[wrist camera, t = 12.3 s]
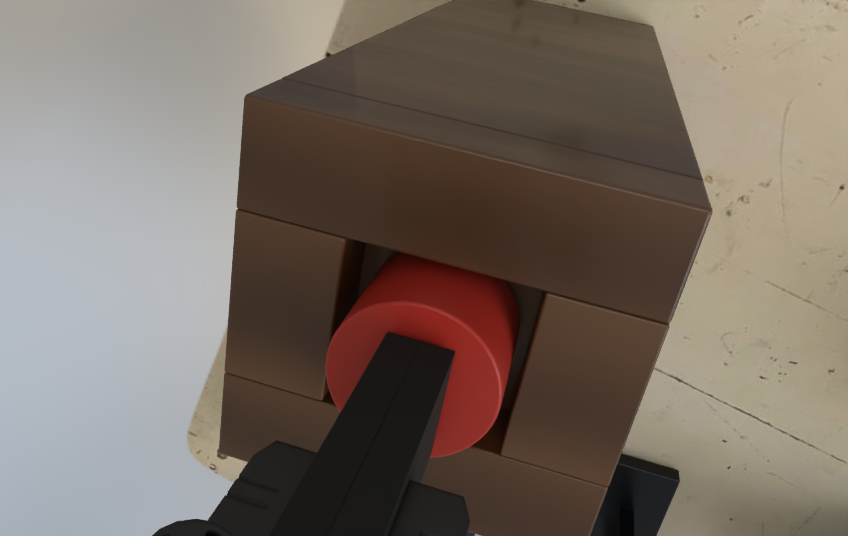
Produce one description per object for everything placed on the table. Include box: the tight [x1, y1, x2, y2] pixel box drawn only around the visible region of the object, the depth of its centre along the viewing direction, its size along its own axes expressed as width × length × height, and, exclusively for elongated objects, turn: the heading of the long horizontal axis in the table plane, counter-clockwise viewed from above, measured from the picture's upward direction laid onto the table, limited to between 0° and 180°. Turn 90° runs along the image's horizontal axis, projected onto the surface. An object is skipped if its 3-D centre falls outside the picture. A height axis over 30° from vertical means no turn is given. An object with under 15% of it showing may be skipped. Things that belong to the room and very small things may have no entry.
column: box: [219, 0, 712, 536], centre depth 31 cm, size 10×10×30 cm
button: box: [325, 253, 520, 458], centre depth 18 cm, size 4×4×3 cm
